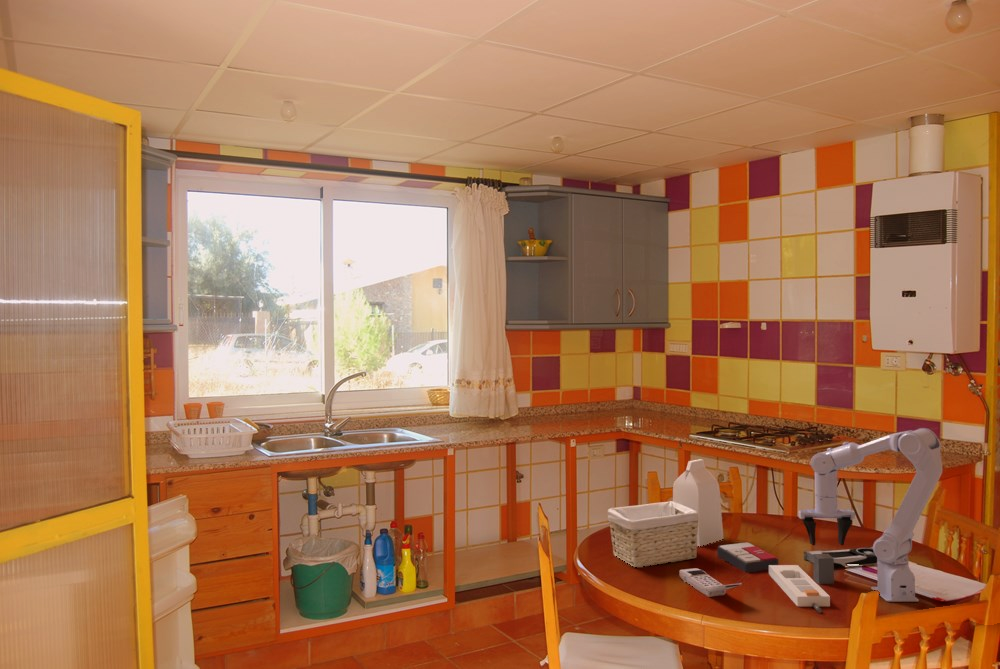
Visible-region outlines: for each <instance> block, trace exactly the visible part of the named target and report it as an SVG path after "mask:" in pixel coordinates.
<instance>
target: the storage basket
mask: <svg viewBox="0 0 1000 669" xmlns="http://www.w3.org/2000/svg"><path fill="white" fill-rule="evenodd" d="M678 513H680V514H678ZM607 520H608V521H609V527H610V536H611V543H612V553H613V556H614V557H616V556H617V557H616V558H617V559H619V558H620V560H621V561H622V560H623V561H622V562H624V561H625V562H624V563H625V564H627V563H628V565H629V564H630V565H631V566H630V565H629V566H630V567H632V566H633V567H632V568H635V567H637V568H644V567H643V566H645V567H649V566H650V565H651V566H657V564H659V565H661V564H666V563H667V564H668V562H671V563H676V562H682V561H686V560H692V559H696V558H697V552H698V551H697V550H698V546H697V531H698V523H699V522H698V520H699V516H698V512H697V511H695V510H693V509H691V508H688V507H686V506H683V505H681V504H678V503H675V502H673V500H670V501H662V502H661V501H660V502H654V503H652V502H651V503H647V504H637V505H629V506H619V507H610V508H608V509H607ZM651 566H650V567H651Z"/></svg>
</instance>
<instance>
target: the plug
mask: <svg viewBox="0 0 1000 669" xmlns="http://www.w3.org/2000/svg"><path fill="white" fill-rule="evenodd" d="M812 564H813V581H814V582H816V583H817V584H818V585H835V568H834V558H833V557H831V556H830V555H829V554H813V563H812Z"/></svg>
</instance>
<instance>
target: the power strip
mask: <svg viewBox="0 0 1000 669" xmlns="http://www.w3.org/2000/svg"><path fill="white" fill-rule="evenodd" d="M768 575H769V576H770V577H771V579H772V580H773V581H774V582H775V584H777V585H778V586H779V587H780V589H781V590H782V591H783V592H784V593H785V594H786V595H787V596H788V597H789V598H790V600H791V601H792V602H793V603H794V604H795V606H796V607H812V608H814V609H815V611H817V612H818V614H822V613H823V609H822V608H821V607H830V606H831V597H830V595H829V594H828V593H827V592H826V591H825V590H824V589H823V588H822V587H821V586H820V584H818V583H817V582H816V581H815V580H814V579H813V578H812V577H811V576H809V575H808V573H807V572H806V571H804V570H803V569H802V567H800V566H799V565H798V564H790V565H789V564H778V565H769V570H768Z"/></svg>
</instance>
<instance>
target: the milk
mask: <svg viewBox="0 0 1000 669" xmlns="http://www.w3.org/2000/svg"><path fill="white" fill-rule="evenodd" d="M720 489H721V488H720V484H719V481H718V480H717V479H716V478H715V476H714V475H713V474H712V473H711V472H710V471H709V470H708V469H707V467H706V465H705V460H704V459H702V458H699V459H695V460H688V462H687V466H686V469H685V471H684V472H683V473H681V474H680V475H679V476H678V477H677V478H676V479H675V480H674V482H673V487H672V501H673V502H675V503H678V504H681V505H683V506H686V507H688V508H691V509H693V510H695V511H697V512H698V516H699V520H698V522H699V523H698V531H697V547H698V546H699V548H700V546H701V547H704V546H707V544H708V545H710V544H709V543H711V544H714V543H717V542H716V541H718V542H720V541H719V540H721V541H723V540H722V539H724V528H723V517H722V515H723V514H722V503H721V491H720ZM678 514H680V513H678ZM713 542H714V543H713ZM703 545H704V546H703Z"/></svg>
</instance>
